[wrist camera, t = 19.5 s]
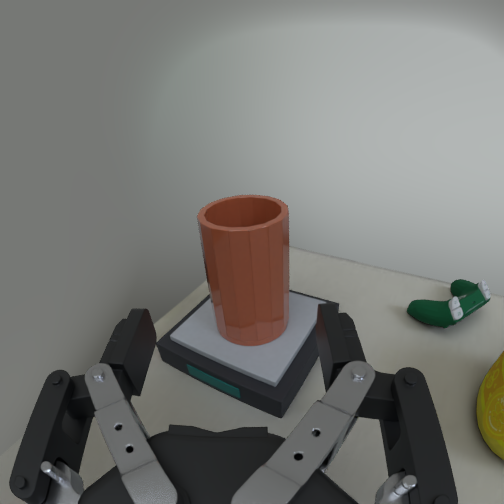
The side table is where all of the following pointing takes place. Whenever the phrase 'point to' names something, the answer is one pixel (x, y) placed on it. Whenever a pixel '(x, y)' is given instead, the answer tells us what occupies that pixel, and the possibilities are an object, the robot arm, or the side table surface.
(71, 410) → the robot arm
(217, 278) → the cup
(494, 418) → the mug
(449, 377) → the side table surface
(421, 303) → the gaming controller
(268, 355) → the scale
